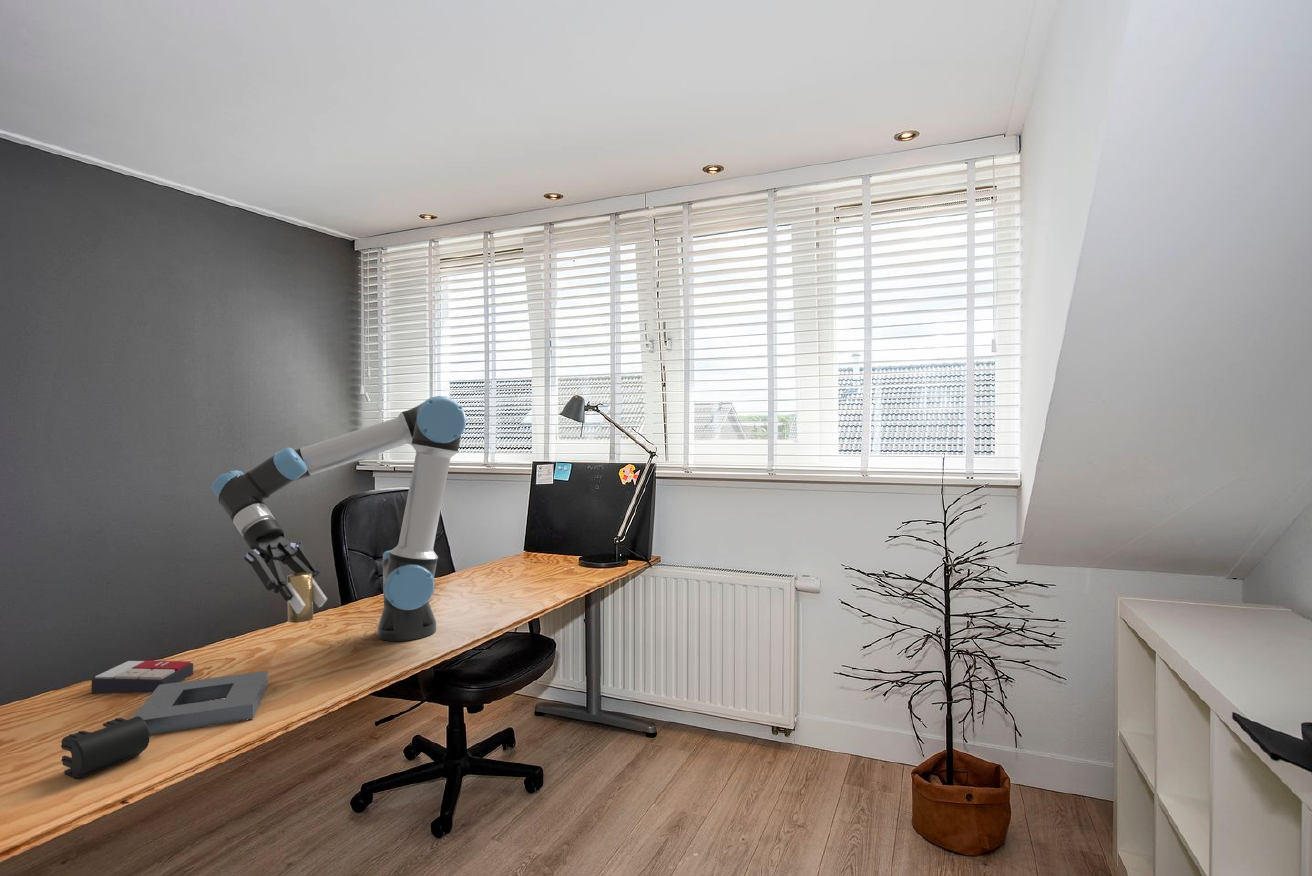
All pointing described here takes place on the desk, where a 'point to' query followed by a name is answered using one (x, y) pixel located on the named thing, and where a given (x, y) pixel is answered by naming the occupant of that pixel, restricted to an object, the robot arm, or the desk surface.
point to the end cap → (104, 746)
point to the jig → (203, 702)
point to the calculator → (140, 676)
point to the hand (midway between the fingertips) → (312, 606)
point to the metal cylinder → (305, 591)
